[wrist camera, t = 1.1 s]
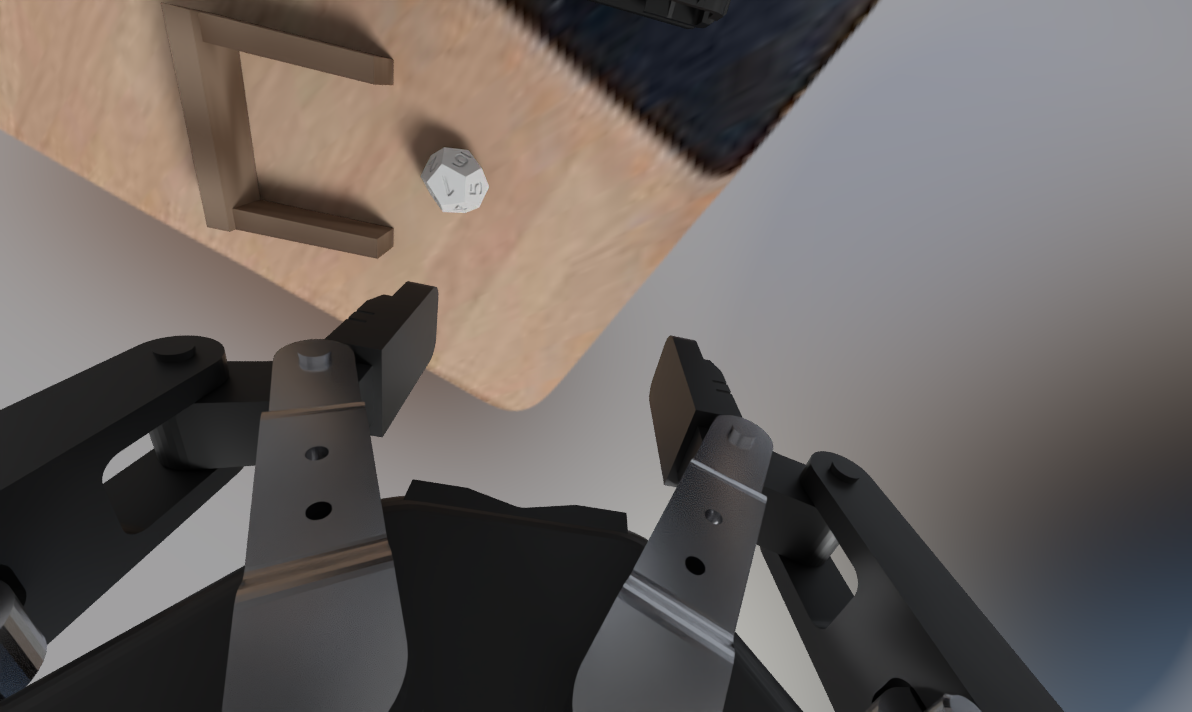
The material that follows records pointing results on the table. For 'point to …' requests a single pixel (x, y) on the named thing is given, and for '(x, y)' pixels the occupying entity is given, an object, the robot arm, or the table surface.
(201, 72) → the dice corral
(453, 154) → the game die
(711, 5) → the end cap
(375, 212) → the table surface
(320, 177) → the table surface
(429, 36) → the table surface
